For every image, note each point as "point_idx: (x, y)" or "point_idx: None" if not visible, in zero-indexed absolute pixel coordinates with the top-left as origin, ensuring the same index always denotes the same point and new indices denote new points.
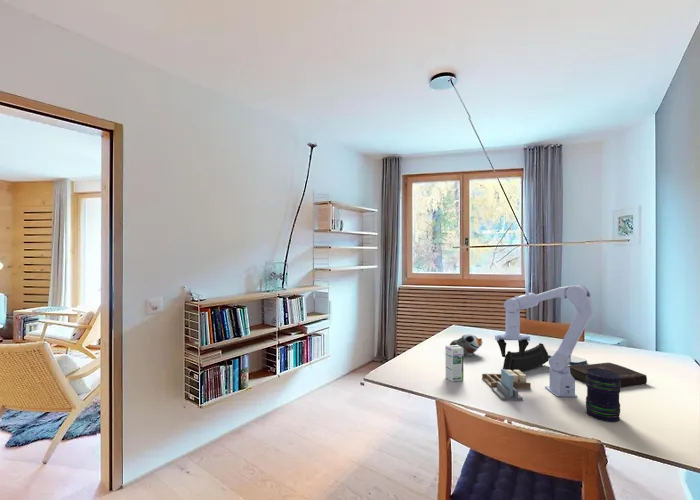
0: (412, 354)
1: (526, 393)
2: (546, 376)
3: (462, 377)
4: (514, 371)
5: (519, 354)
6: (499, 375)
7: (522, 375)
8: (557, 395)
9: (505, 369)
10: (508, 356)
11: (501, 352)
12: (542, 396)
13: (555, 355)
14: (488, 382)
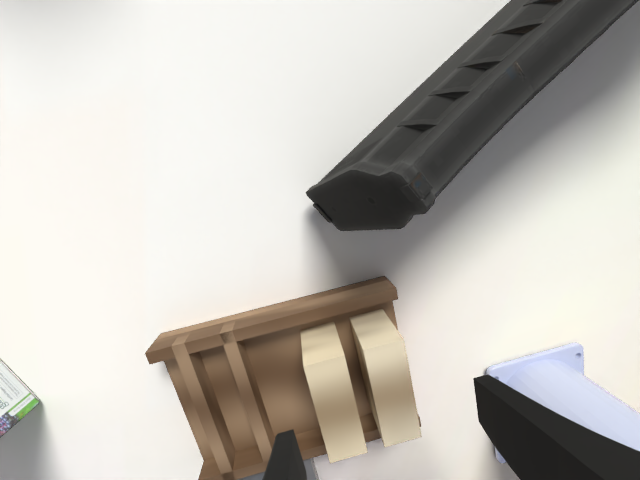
0: None
1: (372, 461)
2: (571, 175)
3: (17, 420)
4: (366, 365)
5: (487, 402)
6: (266, 329)
7: (396, 443)
8: (500, 462)
9: (327, 209)
10: (380, 199)
11: (269, 478)
12: (433, 471)
13: None
14: (192, 417)
